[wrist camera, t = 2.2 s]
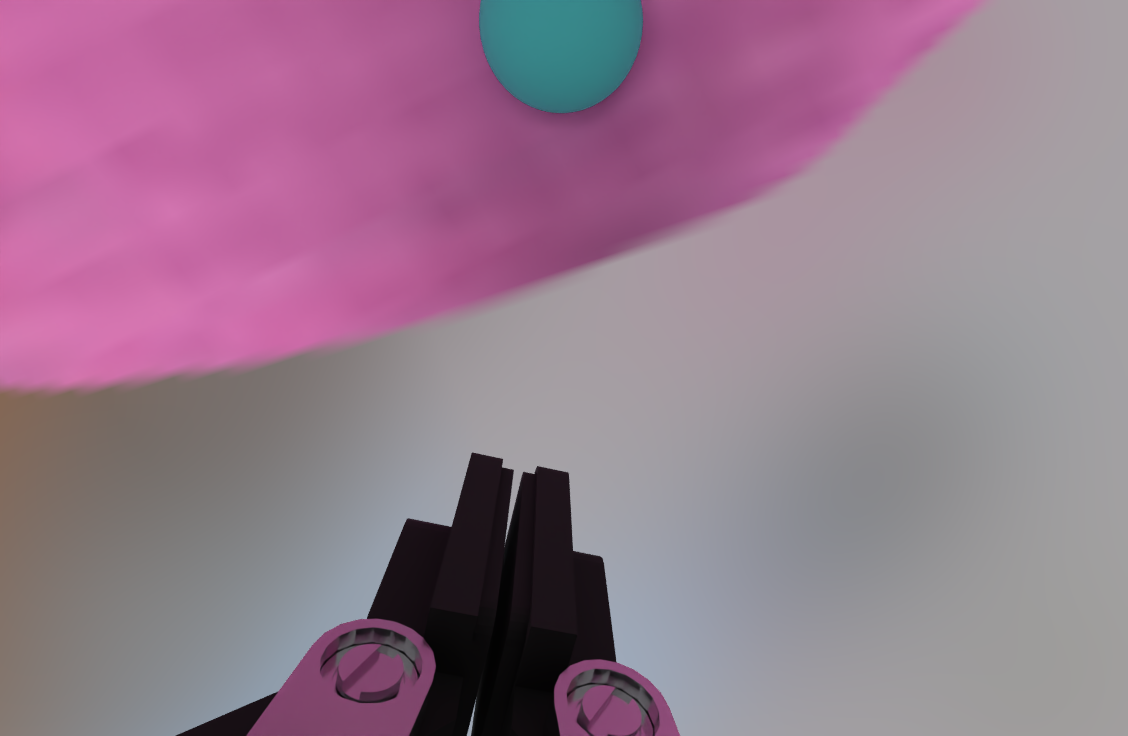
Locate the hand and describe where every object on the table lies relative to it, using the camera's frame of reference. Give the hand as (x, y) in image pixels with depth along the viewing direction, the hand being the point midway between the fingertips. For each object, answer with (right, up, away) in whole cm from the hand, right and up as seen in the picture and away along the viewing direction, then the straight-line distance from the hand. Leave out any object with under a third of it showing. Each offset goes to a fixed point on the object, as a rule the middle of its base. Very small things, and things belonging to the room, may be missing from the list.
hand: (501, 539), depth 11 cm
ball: (+1, +13, +9) cm, 16 cm away
